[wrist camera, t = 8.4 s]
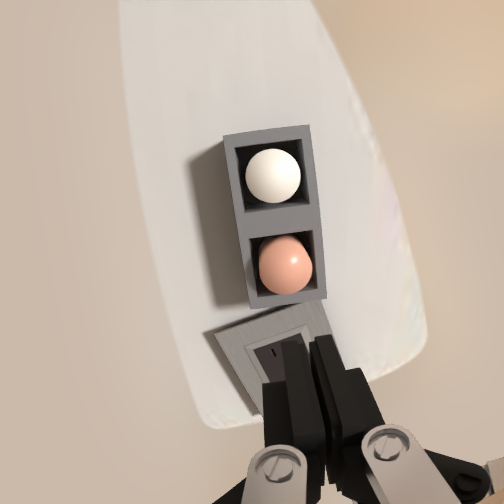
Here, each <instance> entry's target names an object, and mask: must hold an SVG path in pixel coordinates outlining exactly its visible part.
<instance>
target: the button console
mask: <svg viewBox="0 0 504 504" xmlns="http://www.w3.org/2000/svg"><path fill="white" fill-rule="evenodd" d="M223 141H224V147H225V154H226V160H227V167H228V173H229V179H230V186H231V192H232V198H233V205H234V211H235V217H236V223H237V229H238V236H239V242H240V248H241V254H242V260H243V266H244V272H245V278H246V284H247V290H248V296H249V302H250V308H251V309H258V308H266V307H273V306H280V305H287V304H294V303H301V302H308V301H314V300H321V299H327V293H326V278H325V264H324V251H323V239H322V228H321V217H320V207H319V198H318V189H317V180H316V172H315V164H314V156H313V148H312V141H311V134H310V127H309V125H300V126H291V127H282V128H273V129H265V130H258V131H251V132H244V133H237V134H231V135H225V136H223ZM287 141H295V145H296V153H297V160H298V166H299V169H300V183H301V191H302V197H300V198H292V199H287V200H285V201H282V202H278V203H268V202H262V203H255V204H248V205H245V199H244V192H243V186H242V179H241V173H240V166H239V160H238V153H237V148H242V147H249V146H256V145H263V144H271V143H279V142H287ZM301 231H306V236H307V246H308V256H309V258H310V260H311V263H312V274H311V278H310V280H309V282H308V283H307V284H306V286H305V287H304V288H302V289H301V290H299V291H298V292H295V293H293V294H287V295H283V294H277V293H274V292H272V291H271V290H269V289H268V288H267V287H266V286H265V285H264V284H263V282H262V280H261V279H257V277H256V271H255V264H254V258H253V251H252V245H251V238H257V237H265V236H272V235H279V234H286V233H293V232H301Z"/></svg>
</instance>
